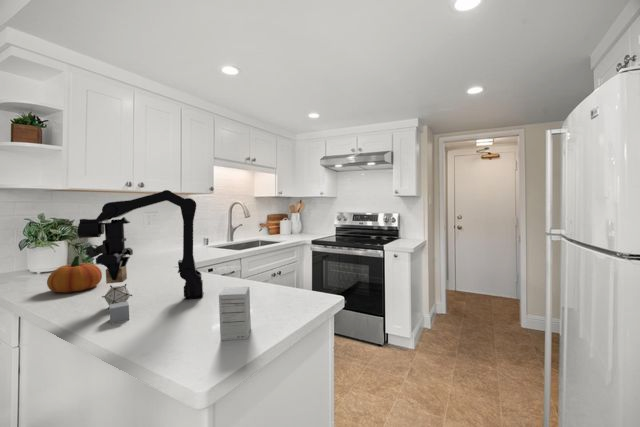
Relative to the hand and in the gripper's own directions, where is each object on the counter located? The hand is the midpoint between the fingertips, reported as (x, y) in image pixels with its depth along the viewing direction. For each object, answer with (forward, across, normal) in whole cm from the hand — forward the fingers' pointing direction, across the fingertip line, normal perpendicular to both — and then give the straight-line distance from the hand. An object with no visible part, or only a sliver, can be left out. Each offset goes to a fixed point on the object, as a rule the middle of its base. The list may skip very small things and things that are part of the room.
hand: (116, 278), depth 108 cm
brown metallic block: (+1, 0, 0) cm, 1 cm away
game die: (+11, 0, 0) cm, 11 cm away
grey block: (+11, +15, +5) cm, 19 cm away
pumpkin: (+11, -35, -27) cm, 46 cm away
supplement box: (+11, +40, +41) cm, 58 cm away
